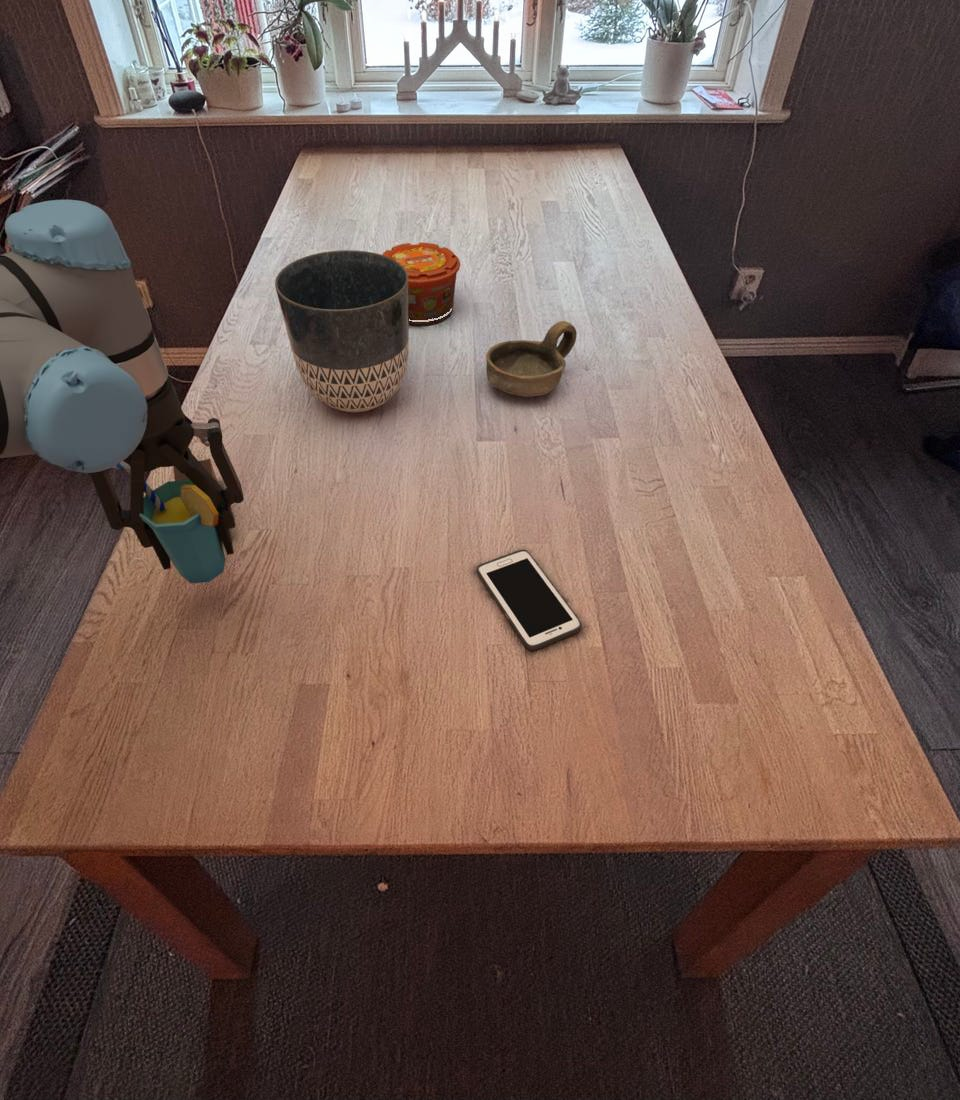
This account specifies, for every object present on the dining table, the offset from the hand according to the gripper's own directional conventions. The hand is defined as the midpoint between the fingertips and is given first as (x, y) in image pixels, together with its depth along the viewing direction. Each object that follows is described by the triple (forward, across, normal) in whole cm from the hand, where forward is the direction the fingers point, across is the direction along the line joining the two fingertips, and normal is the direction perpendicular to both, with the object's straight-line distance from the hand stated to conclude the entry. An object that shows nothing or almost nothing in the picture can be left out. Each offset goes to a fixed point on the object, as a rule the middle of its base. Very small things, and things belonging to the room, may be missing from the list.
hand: (198, 553), depth 80 cm
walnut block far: (+8, 0, -20) cm, 21 cm away
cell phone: (+8, -37, +14) cm, 40 cm away
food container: (+9, -46, -63) cm, 79 cm away
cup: (+2, +1, 0) cm, 2 cm away
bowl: (+9, -57, -32) cm, 66 cm away
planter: (+9, -27, -36) cm, 46 cm away
